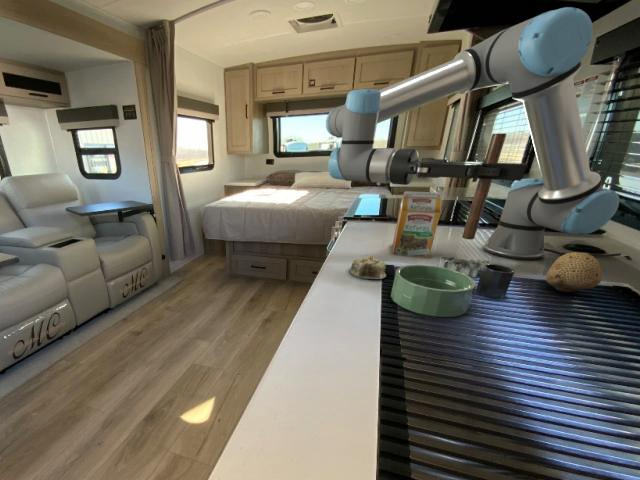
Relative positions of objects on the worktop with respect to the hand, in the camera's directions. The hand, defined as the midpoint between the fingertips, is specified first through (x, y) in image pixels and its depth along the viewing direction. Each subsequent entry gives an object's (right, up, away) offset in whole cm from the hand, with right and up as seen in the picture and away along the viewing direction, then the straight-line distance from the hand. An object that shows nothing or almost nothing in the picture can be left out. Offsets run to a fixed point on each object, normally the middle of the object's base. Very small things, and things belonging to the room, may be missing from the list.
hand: (523, 172), depth 61 cm
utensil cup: (+7, -23, +18) cm, 30 cm away
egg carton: (+9, -16, +32) cm, 37 cm away
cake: (-17, -17, +31) cm, 39 cm away
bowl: (-10, -24, +15) cm, 30 cm away
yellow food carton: (+4, -8, +49) cm, 50 cm away
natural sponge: (+26, -22, +19) cm, 39 cm away
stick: (-4, -10, +9) cm, 15 cm away
